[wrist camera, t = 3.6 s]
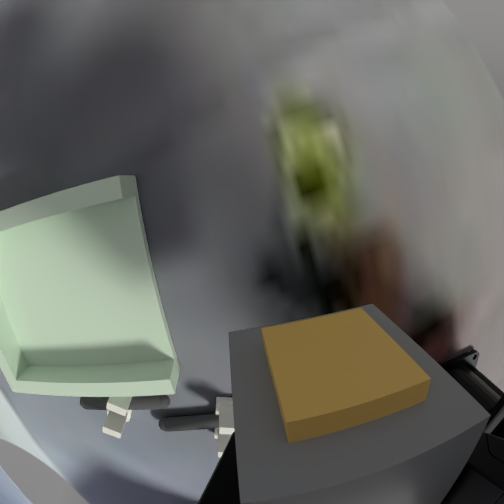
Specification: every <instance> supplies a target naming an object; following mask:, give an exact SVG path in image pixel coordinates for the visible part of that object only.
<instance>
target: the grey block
mask: <svg viewBox="0 0 504 504" xmlns="http://www.w3.org/2000/svg"><path fill="white" fill-rule="evenodd" d="M229 349H230V367H231V384H232V401H233V416H234V430H235V444H236V457H237V469H238V481H239V493H240V503H241V504H440V503H441V502H442V500H443V499H444V497H445V496H446V495H447V493H448V492H449V490H450V489H451V487H452V486H453V484H454V482H455V481H456V479H457V478H458V476H459V475H460V473H461V471H462V470H463V468H464V466H465V464H466V463H467V461H468V459H469V457H470V456H471V454H472V452H473V450H474V448H475V446H476V445H477V443H478V441H479V439H480V437H481V435H482V433H483V431H484V429H485V426H486V424H487V422H488V420H489V418H490V416H491V415H490V414H489V413H488V412H487V411H486V410H485V409H484V408H483V407H482V406H481V405H480V404H479V403H478V402H477V401H476V400H475V399H474V398H473V397H472V396H471V395H470V394H469V393H468V392H467V391H466V390H465V389H464V388H463V387H462V386H461V385H460V384H459V383H458V382H457V381H456V380H455V379H454V378H453V377H452V376H451V375H450V374H449V373H447V372H446V371H445V370H444V369H443V368H442V367H441V366H440V365H439V364H438V363H437V362H436V361H435V360H434V359H433V358H432V357H431V356H430V355H428V354H427V353H426V352H425V351H424V350H423V349H422V348H421V347H420V346H419V345H418V344H417V343H416V342H414V341H413V340H412V339H411V338H410V337H409V336H408V335H407V334H406V333H405V332H404V331H402V330H401V329H400V328H399V327H398V326H397V325H396V324H395V323H394V322H393V321H391V320H390V319H389V318H388V317H387V316H386V315H385V314H384V313H383V312H381V311H380V310H379V309H378V308H377V307H376V306H375V305H374V304H369V305H365V306H361V307H357V308H352V309H348V310H343V311H339V312H335V313H330V314H325V315H321V316H316V317H311V318H306V319H301V320H296V321H291V322H285V323H280V324H275V325H269V326H263V327H258V328H252V329H246V330H240V331H233V332H229Z"/></svg>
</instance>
